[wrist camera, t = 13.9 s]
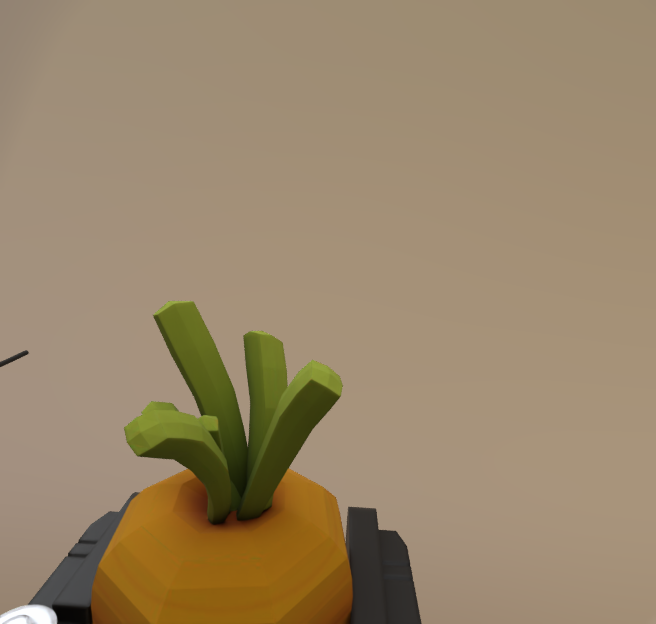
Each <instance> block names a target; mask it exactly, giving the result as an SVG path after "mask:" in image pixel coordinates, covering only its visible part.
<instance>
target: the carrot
mask: <svg viewBox="0 0 656 624" xmlns="http://www.w3.org/2000/svg"><path fill="white" fill-rule="evenodd" d="M153 316H154V319H155V321H156V323H157V325H158V327H159V329H160V332H161V334H162V336H163V338H164V340H165V342H166V345H167V347H168V349H169V351H170V353H171V355H172V357H173V359H174V361H175V363H176V365H177V366H178V368H179V370H180V372H181V374H182V375H183V378H184V379H185V381H186V383H187V385H188V387H189V389H190V390H191V392H192V394H193V396H194V398H195V400H196V403H197V406H198V408H199V411H200V413H201V417H200V418H198V419H197V418H196V417H195V416H193V415H189V414H186V413H182V412H179V411H178V410H177V408H176V407H175V406H174V405H173V404H172V403H165V402H153V401H152V402H151V403H150V404H149V405H148V406H147V407H146V408H145V409H144V410H143V411H142V414H143V415H141V416H139V417H137V418H135V419H134V420H133V421H132V422H130V423H129V424H128V425H127V426H126V427H124V430H125V435H126V440H127V443H128V444H129V446H130V447H131V448H132V450H133V451H134V453H135V454H136V455H137V456H140V457H150V458H162V459H174V460H176V461H177V462H179V463H180V464H182V465H183V466H185V467H186V468H188V469H187V470H184V471H182V472H180V473H178V474H176V475H174V476H172V477H169V478H167V479H165V480H163V481H161V482H159V483H156V484H154V485H152V486H150V487H148V488H146V489H144V490H143V491H142V492H140V493H139V494H138V495H137V496H136V497H135V498H133V499H132V500H131V502H130V504H129V506H128V508H127V510H126V512H125V514H124V516H123V518H122V520H121V522H120V524H119V526H118V527H117V529H116V531H115V533H114V535H113V537H112V539H111V541H110V543H109V545H108V547H107V549H106V551H105V553H104V555H103V557H102V559H101V561H100V563H99V565H98V568H97V572H96V575H95V579H94V582H93V586H92V598H91V611H92V620H93V624H350V614H351V609H352V599H353V590H352V575H351V570H350V565H349V560H348V554H347V549H346V544H345V539H344V533H343V528H342V522H341V517H340V512H339V508H338V504H337V500H336V497H335V496H333V495H332V494H331V493H330V492H329V491H327V490H326V489H325V488H324V487H322V486H320V485H318V484H317V483H315V482H313V481H311V480H309V479H307V478H305V477H304V476H302V475H300V474H298V473H296V472H294V471H293V470H291V469H289V466H290V465H291V463H292V462H293V460H294V458H295V457H296V455H297V454H298V452H299V450H300V449H301V447H302V445H303V444H304V442H305V441H306V439H307V437H308V436H309V434H310V433H311V431H312V429H313V428H314V427H315V426H316V425H317V424H318V423H319V421H320V420H321V419H322V418H323V417H324V416H325V415H326V413H327V412H328V411H329V410H330V409H331V408H332V406H333V405H334V404H335V403H336V401H337V400H338V399H339V398H340V396H341V392H342V387H343V385H342V382H341V379H340V376H339V375H337V374H336V373H335V372H334V371H333V370H332V369H330V368H329V367H328V366H326V365H324V364H321V363H319V362H317V361H314V360H312V361H311V362H310V363H308V364H307V365H306V366H305V367H304V368H303V369H302V370H300V371H299V372H298V374H297V375H296V376H295V378H294V379H293V381H292V382H291V383H290V385H289V386H288V387H287V370H286V363H285V356H284V349H283V343H282V342H281V341H280V340H278V339H276V338H275V337H273V336H272V335H270V334H268V333H265V332H263V331H250V332H248V333H247V334H245V335H244V348H245V360H246V369H247V378H248V386H249V395H250V424H249V442H248V446H247V442H246V436H245V431H244V426H243V423H242V419H241V414H240V411H239V407H238V402H237V398H236V394H235V391H234V388H233V385H232V383H231V381H230V378H229V376H228V374H227V371H226V369H225V367H224V365H223V362H222V360H221V357H220V355H219V352H218V350H217V348H216V345H215V343H214V341H213V339H212V337H211V335H210V333H209V331H208V329H207V327H206V325H205V323H204V321H203V319H202V317H201V315H200V313H199V311H198V309H197V308H196V305H195V304H194V302H192V301H168V302H167V303H166V304H165V305H164V306H163V307H162V308H161V309H160V310H158V311H157V312H156V313H155V314H154V315H153Z"/></svg>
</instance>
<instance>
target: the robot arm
mask: <svg viewBox="0 0 656 624" xmlns="http://www.w3.org/2000/svg"><path fill="white" fill-rule="evenodd" d="M27 354H28V351H23V352H21V353H19V354H17V355H15V356H13V357H10V358H8V359H6V360H4V361H2V362H0V367H2V366H4V365H6V364H8V363H10V362H13V361H15V360H17V359H19V358H21V357H23V356H25V355H27ZM138 494H139V493H137V492H135V493H133V494H132V495H131V496H130V498H129V499H128V500H127V502H126V503H125V505H124V506H123V507H122V509H121V510H120V511H119V512H111V511H110V512H108V513H107V514H105V515H104V516H103V517H101V518H100V519H98V520H97V521H95V522H94V523H92V524H91V525H90V526H89V528H88V529H87V530H86V532H85V533H84V534H83V535H82V537H81V538H80V539H79V542H78V543H76V544H75V546H74V547H73V548H72V549H71V551H70V552H69V553H68V556H67V557H65V558H64V560H63V561H62V562H61V563H60V565H59V566H58V567H57V569H56V570H55V571H54V572H53V573H52V575H51V576H50V577H49V578H48V580H47V581H46V582H45V583H44V585H43V586H42V587H41V589H40V590H39V591H38V592H37V594H36V595H35V596H34V597H33V599H32V600H31V601H30V603H29V604H28V605H26V606H22V607H18V608H16V609H13V610H10V611H8V612H6V613H4V614H2V615H1V616H0V624H93V620H92V611H91V598H92V586H93V582H94V579H95V575H96V572H97V568H98V565H99V563H100V561H101V559H102V557H103V555H104V553H105V551H106V549H107V547H108V545H109V543H110V541H111V539H112V537H113V535H114V533H115V531H116V529H117V527H118V526H119V524H120V522H121V520H122V518H123V516H124V514H125V512H126V510H127V508H128V506H129V504H130V502H131V500H132V499H133V498H135V497H136V496H137V495H138ZM346 549H347V554H348V560H349V565H350V570H351V575H352V590H353V599H352V609H351V614H350V624H421V619H420V614H419V609H418V603H417V598H416V592H415V587H414V582H413V577H412V571H411V567H410V560H409V555H408V549H407V546H406V544H405V543H404V542H403V540H402V539H401V537H400V536H399V535H398V533H397V532H396V531H387V530H378V522H377V512H376V509H374V508H359V507H348V516H347V530H346Z"/></svg>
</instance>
